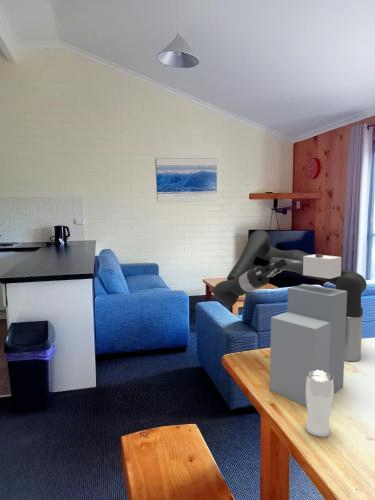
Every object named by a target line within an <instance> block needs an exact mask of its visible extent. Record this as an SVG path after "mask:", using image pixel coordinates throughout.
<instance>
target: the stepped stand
mask: <svg viewBox="0 0 375 500" xmlns="http://www.w3.org/2000/svg"><path fill="white" fill-rule="evenodd" d="M286 308H287V309H286V310H287V311H286V312H283V313H280V314H277V315H273V316H272V317H270V348H269V349H270V352H269V353H270V354H269V355H270V357H269V359H270V360H269V390H270V391H272V392H274V393H276V394H279V395H281V396H283V397H284V398H287V399H289V400H291V401H294V402H296V403H298V404H300V405H303V406H304V407H307V405H306V398H305V383H306V374H307V372H308V371H311V370H320V371H325V372H327V373H329V374H331V375H332V376H333V383H334V394H336V393H338V392H339V391H340V390H342V389H343V388H344V374H345V373H344V371H345V370H344V369H345V360H344V354H345V331H346V308H347V291H344V290H338V289H335V288H331V287H326V286H318V285H313V284H305V283H302V284H299V285H295V286H292V287H288V288H287V307H286Z"/></svg>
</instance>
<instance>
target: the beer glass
mask: <svg viewBox="0 0 375 500" xmlns="http://www.w3.org/2000/svg"><path fill="white" fill-rule="evenodd" d="M334 395H335V393H334V383H333V376H332V375H331V374H329V373H327V372H325V371H320V370H311V371H308V372H307V374H306V383H305V398H306V405H307V406H306V410H307V419H306V422H305V429H306V431H307V433H309V434H310V435H312V436H314V437H318V438H325V437H328V436H330V434H331V427H330V415H331V411H332V407H333V404H334V403H333V401H334Z"/></svg>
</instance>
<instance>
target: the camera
mask: <svg viewBox="0 0 375 500" xmlns="http://www.w3.org/2000/svg"><path fill="white" fill-rule="evenodd" d="M281 259H284V258H275V257H272V258H271V260H270V261H269V264H272V263H276V262H278V261H280V260H281ZM285 261H286V263H287V264H286V265H285V266H283V267H281V268H279V269H280V270H284V271H287V272H294V273H296V272H301V273H303V275H307V276H314V277H320V278H327V279H331V278H335V277H339V276H341V268H342V256H335V255H334V256H333V255H324V254H319V253H317V254H316V253H315V254H310V255H308V256H303V261H301V260H293V259H285ZM277 269H278V268H277ZM303 275H302V276H303Z"/></svg>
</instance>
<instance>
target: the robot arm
mask: <svg viewBox="0 0 375 500" xmlns="http://www.w3.org/2000/svg"><path fill="white" fill-rule="evenodd" d="M308 255H311V254H310V253H307V252H304V251H303V250H299V249H291V250H281V249H279V248H276V247H274V246H272V245H271V237H270V234H269V233H268V232H267V231H266V230H264V229H263V230H262V229H257V230H255V231H253V232H252V233H251V234H250V236H249V237H248V239H247V242H246V244H245V247H244V249H243V251H242V253H241V255H240V256H239V257H238V258H239V259H238V260H237V262H236V264H235V265H234V266H233V267H232V269H231V270H230V272H229V273H228V275H227V277H226V280H223V281H220V282H218V283H216V285H214V287H213V290H212V292H213V295H214V296H215V297H216V298H217V299H218V301H220V302H221V303H222V304H223V305H224V306H225V307H230V308H231V307H233V306H235V304H236V303H237V302H238V300H239V297H242V296H245V295H246V294H249V293H250V292H253V291H255V290H258V289H260V288H262V287H264V286H266V285H268V283H269V282H270V278H273V277H275V276H276V275H277V274H281V272H284V271H285V270H280V269H279V268H281V267H283V266H285V265H286V264H287V263H286V261H285V259H293V260H301V261H303V256H308ZM256 257H258V258H260V259H263V260H266V261H269V262H270V260H271V258H272V257H275V258H284V259H281V260H280V261H278V262H276V263H272V264H270V263H268V264H267V265H265V266H262V265H256V266H254V267H253V264H254V261H255V259H256ZM252 267H253V268H252ZM277 268H278V269H277ZM295 273H296V274H299V275H301V276H303V277H306V278H309V279H314V280H320V281H324V282H327V283H329V284H332V285H334V286H335V288H334V289H338V290H344V291H347V308H346V331H345V354H344V362H345V361H346V362H358V361H360V360H361V359H362V358H361V355H362V336H363V315H364V313H363V311H364V309H363V307H362V294H363V292H365V290H366V289H367V280H366V279H365V277H363V275H361V274H360V273H358V272H355V271H352V270H348V269H347V268H346V269H345V268H343V267H341V276H339V277H335V278H331V279H327V278H320V277H314V276H307V275H303V273H301V272H295Z"/></svg>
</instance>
